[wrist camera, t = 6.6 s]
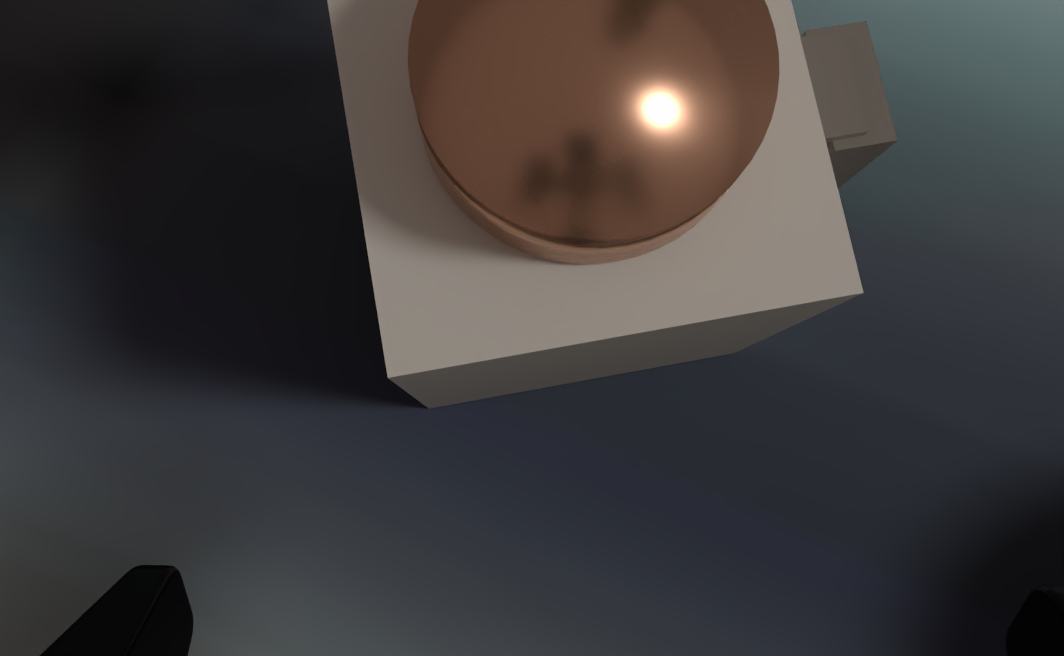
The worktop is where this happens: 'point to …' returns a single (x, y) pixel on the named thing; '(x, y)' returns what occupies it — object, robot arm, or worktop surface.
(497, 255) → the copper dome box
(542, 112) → the plunger
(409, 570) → the worktop surface
